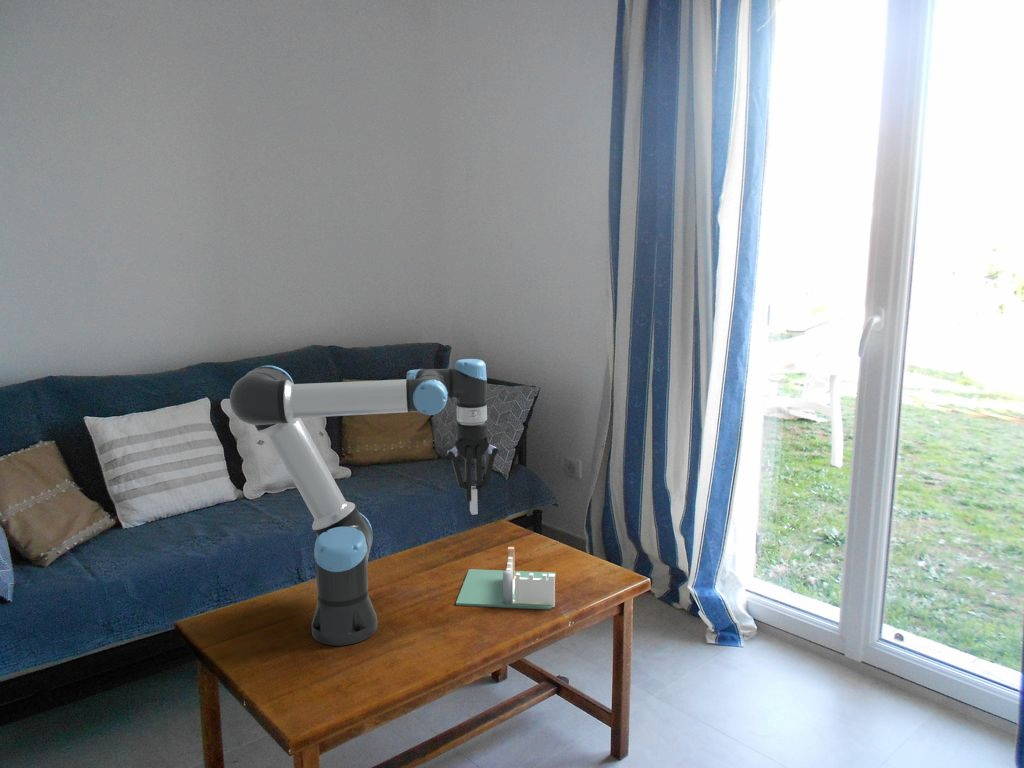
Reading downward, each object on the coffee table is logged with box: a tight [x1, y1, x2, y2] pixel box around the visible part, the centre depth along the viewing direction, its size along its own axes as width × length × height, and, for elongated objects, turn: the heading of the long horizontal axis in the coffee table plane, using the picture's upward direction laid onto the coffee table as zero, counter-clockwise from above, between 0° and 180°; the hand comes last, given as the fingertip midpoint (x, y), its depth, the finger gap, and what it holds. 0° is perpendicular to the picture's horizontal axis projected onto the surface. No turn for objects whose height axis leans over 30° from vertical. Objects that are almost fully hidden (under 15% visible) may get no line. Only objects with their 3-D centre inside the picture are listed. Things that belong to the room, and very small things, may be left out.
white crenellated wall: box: [506, 546, 516, 579], centre depth 195 cm, size 12×2×8 cm, turn 176°
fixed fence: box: [503, 570, 556, 608], centre depth 187 cm, size 13×2×8 cm, turn 84°
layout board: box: [455, 568, 557, 610], centre depth 196 cm, size 24×20×1 cm
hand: (473, 512), depth 189 cm, fingers closed
